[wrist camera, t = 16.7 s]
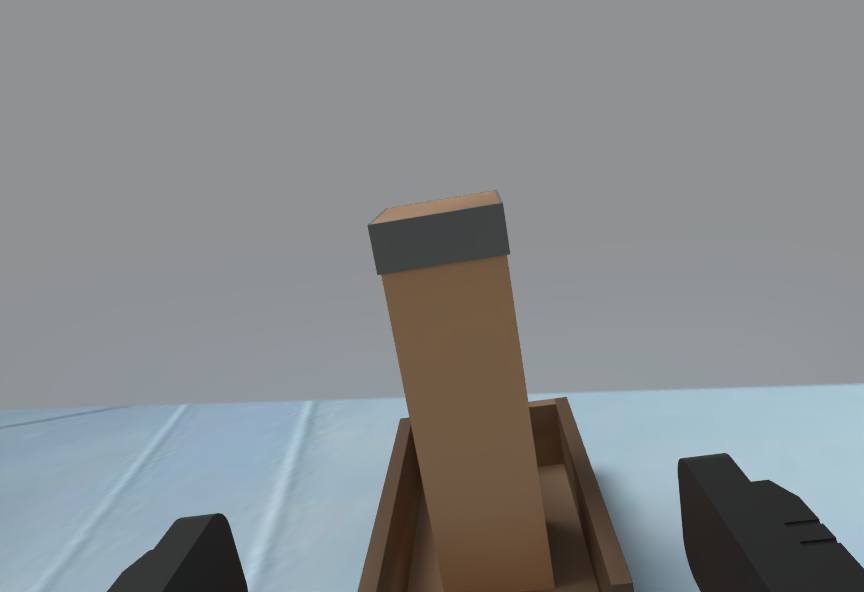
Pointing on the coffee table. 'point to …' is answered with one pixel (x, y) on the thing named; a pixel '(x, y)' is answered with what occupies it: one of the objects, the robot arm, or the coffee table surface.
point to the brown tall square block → (465, 389)
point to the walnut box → (562, 502)
